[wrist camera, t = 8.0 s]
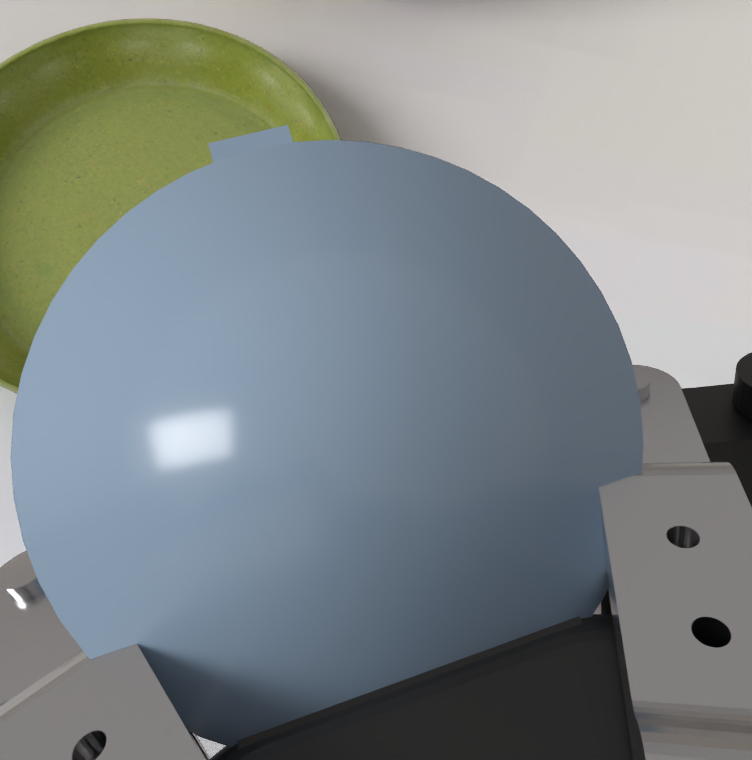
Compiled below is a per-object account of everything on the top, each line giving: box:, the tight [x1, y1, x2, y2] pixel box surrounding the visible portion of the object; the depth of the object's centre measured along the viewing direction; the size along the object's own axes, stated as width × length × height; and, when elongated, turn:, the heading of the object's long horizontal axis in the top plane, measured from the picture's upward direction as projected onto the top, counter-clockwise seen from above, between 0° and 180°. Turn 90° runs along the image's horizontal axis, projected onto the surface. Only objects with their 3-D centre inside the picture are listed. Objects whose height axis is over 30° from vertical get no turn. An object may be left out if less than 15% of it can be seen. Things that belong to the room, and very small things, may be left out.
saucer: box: [0, 19, 341, 394], centre depth 30 cm, size 21×21×3 cm
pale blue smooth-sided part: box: [11, 125, 643, 747], centre depth 11 cm, size 8×6×10 cm
